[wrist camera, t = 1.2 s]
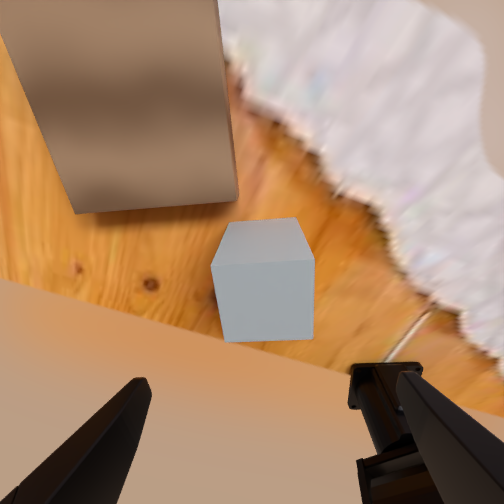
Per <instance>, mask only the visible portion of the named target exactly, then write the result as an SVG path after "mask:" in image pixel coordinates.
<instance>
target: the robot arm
mask: <svg viewBox="0 0 504 504" xmlns="http://www.w3.org/2000/svg"><path fill="white" fill-rule="evenodd" d="M422 372H423V367H422V365H421V364H420V363H419V362H403V363H367V364H355V365H353V366H352V371H351V380H350V387H349V396H348V406H349V408H350V409H354V410H357V409H361V411H362V414H363V416H364V419H365V422H366V424H367V427H368V430H369V433H370V435H371V438H372V441H373V444H374V446H375V449H376V452H377V455H375V456H372V457H369V458H366V459H363V458H361V459H358V460H356V463H357V468H358V479H359V485H360V491H361V497H362V503H363V504H504V442H502V441H501V440H500V439H499V438H497V437H496V436H495V435H494V434H492V433H491V432H490V431H489V430H487V429H486V428H485V427H483V426H482V425H481V424H480V423H478V422H477V421H476V420H475V419H473V418H472V417H471V416H470V415H468V414H467V413H466V412H465V411H463V410H462V409H461V408H460V407H458V406H457V405H456V404H455V403H453V402H452V401H451V400H450V399H448V398H447V397H446V396H445V395H443V394H442V393H441V392H440V391H438V390H437V389H436V388H434V387H433V386H432V385H431V384H429V383H428V382H427V381H426V380H424V379H423V378H422V377H421V375H422ZM151 397H152V392H151V389H150V387H149V384H148V382H147V379H146V378H144V377H136V378H133V379H132V380H131V381H130V382H129V383H128V384H126V385H125V386H124V387H123V388H122V389H121V390H120V391H119V392H118V393H117V394H116V395H115V396H113V398H111V399H110V400H109V401H108V402H107V403H106V404H105V405H104V406H103V407H102V408H101V409H99V410H98V411H97V412H96V413H95V414H94V415H93V416H92V417H91V418H90V419H89V420H88V421H87V422H86V423H84V424H83V425H82V426H81V427H80V428H79V429H78V430H77V431H76V432H75V433H74V434H73V435H71V436H70V437H69V438H68V439H67V440H66V441H65V442H64V443H63V444H62V445H61V446H60V447H59V448H57V449H56V450H55V451H54V452H53V453H52V454H51V455H50V456H49V457H48V458H47V459H46V460H45V461H44V462H42V463H41V464H40V465H39V466H38V467H37V468H36V469H35V470H34V471H33V472H32V473H31V474H30V475H28V476H27V477H26V478H25V479H24V480H23V481H22V482H21V483H20V485H19V486H17V487H16V488H14V489H13V490H12V491H11V492H10V493H9V494H8V495H7V496H6V497H5V498H4V499H2V500H1V501H0V504H117V501H118V499H119V496H120V493H121V490H122V488H123V485H124V482H125V479H126V477H127V474H128V472H129V469H130V466H131V464H132V461H133V458H134V456H135V453H136V450H137V447H138V444H139V440H140V437H141V434H142V430H143V426H144V423H145V419H146V415H147V412H148V408H149V405H150V401H151Z"/></svg>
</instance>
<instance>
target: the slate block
mask: <svg viewBox="0 0 504 504" xmlns="http://www.w3.org/2000/svg"><path fill="white" fill-rule="evenodd" d="M211 271H212V276H213V282H214V287H215V292H216V298H217V303H218V308H219V314H220V319H221V324H222V330H223V335H224V340H225V342H251V341H278V340H305V339H313V321H314V273H315V259H314V256H313V254H312V252H311V250H310V248H309V245H308V243H307V241H306V239H305V236H304V234H303V232H302V230H301V227H300V225H299V223H298V221H297V219H296V217H292V218H279V219H266V220H253V221H240V222H229V224H228V227H227V229H226V231H225V233H224V236H223V238H222V240H221V243H220V245H219V247H218V250H217V252H216V254H215V257H214V259H213V261H212V264H211Z"/></svg>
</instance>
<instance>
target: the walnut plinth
mask: <svg viewBox="0 0 504 504" xmlns="http://www.w3.org/2000/svg"><path fill="white" fill-rule="evenodd" d="M0 34H1V36H2V39H3V41H4V44H5V46H6V48H7V51H8V53H9V56H10V58H11V60H12V63H13V65H14V68H15V70H16V72H17V75H18V77H19V80H20V82H21V85H22V87H23V89H24V92H25V94H26V97H27V99H28V101H29V104H30V106H31V109H32V111H33V113H34V116H35V118H36V121H37V123H38V126H39V128H40V130H41V133H42V135H43V138H44V140H45V142H46V145H47V147H48V150H49V152H50V155H51V157H52V159H53V162H54V164H55V167H56V169H57V171H58V174H59V176H60V179H61V181H62V183H63V186H64V188H65V191H66V193H67V196H68V198H69V200H70V203H71V205H72V208H73V210H74V212H75V214H84V213H96V212H108V211H120V210H132V209H144V208H156V207H168V206H181V205H193V204H205V203H217V202H229V201H237V199H238V197H239V187H238V179H237V170H236V161H235V152H234V143H233V134H232V125H231V117H230V108H229V99H228V90H227V81H226V72H225V64H224V55H223V46H222V37H221V28H220V19H219V10H218V2H217V0H0Z"/></svg>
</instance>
